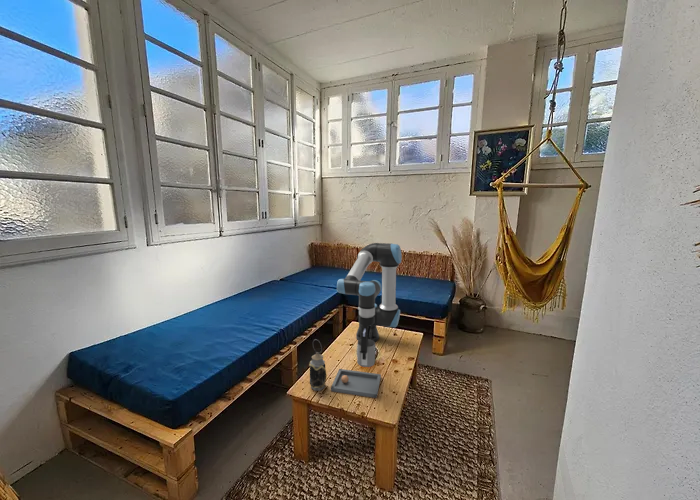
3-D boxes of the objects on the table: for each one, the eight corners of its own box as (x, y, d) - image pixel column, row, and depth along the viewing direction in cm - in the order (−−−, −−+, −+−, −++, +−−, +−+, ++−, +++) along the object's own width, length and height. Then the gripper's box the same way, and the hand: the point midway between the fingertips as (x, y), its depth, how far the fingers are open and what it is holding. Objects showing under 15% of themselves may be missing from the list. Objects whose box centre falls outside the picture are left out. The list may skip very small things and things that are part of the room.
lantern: (306, 387, 140) (304, 339, 135) (318, 380, 145) (318, 333, 141) (317, 395, 134) (316, 345, 130) (330, 387, 139) (329, 339, 135)
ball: (342, 379, 145) (342, 373, 144) (349, 380, 144) (349, 374, 143) (340, 384, 141) (340, 377, 141) (347, 385, 140) (347, 378, 140)
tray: (339, 372, 151) (339, 368, 151) (380, 378, 147) (380, 374, 146) (330, 392, 136) (330, 387, 136) (376, 399, 131) (376, 394, 131)
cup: (373, 368, 133) (373, 348, 132) (356, 366, 135) (356, 346, 133) (375, 358, 141) (375, 339, 140) (359, 356, 143) (359, 338, 141)
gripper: (362, 306, 145) (362, 348, 149) (354, 323, 125) (353, 370, 128) (377, 307, 144) (376, 349, 147) (371, 325, 123) (370, 373, 127)
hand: (365, 359), depth 138 cm, fingers closed on cup, 8 cm apart
